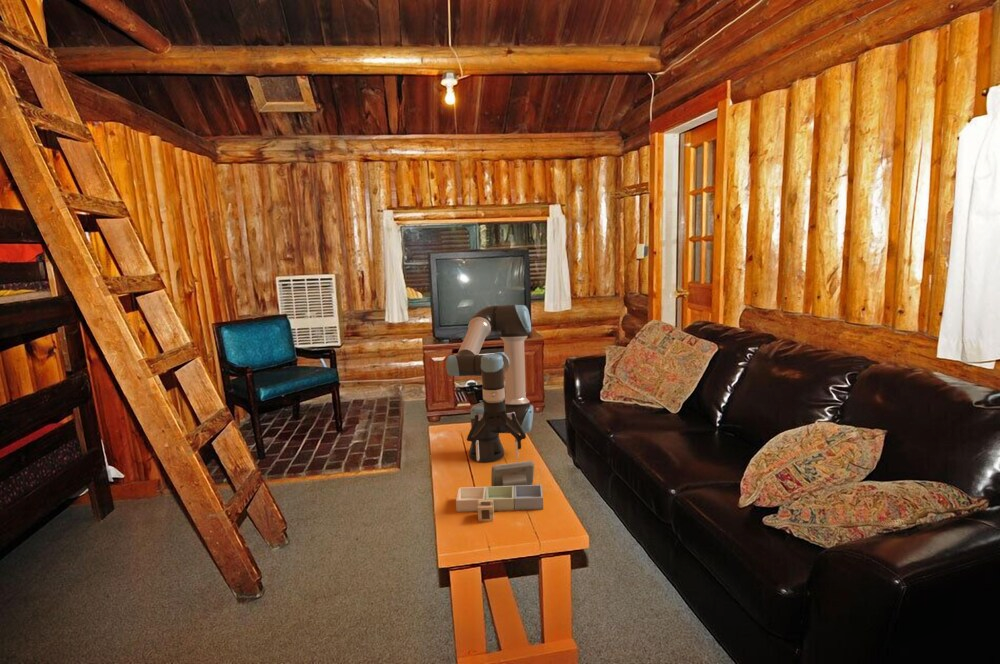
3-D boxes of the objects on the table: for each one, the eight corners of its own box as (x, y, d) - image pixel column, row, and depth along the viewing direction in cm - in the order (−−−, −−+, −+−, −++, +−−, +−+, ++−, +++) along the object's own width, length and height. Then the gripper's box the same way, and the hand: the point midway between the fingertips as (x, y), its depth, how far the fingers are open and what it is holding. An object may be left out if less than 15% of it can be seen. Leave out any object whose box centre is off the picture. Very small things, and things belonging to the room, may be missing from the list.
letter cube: (479, 514, 180) (478, 500, 179) (494, 513, 179) (493, 499, 179) (478, 521, 175) (477, 507, 174) (493, 521, 174) (492, 507, 174)
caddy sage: (487, 497, 191) (486, 486, 190) (514, 496, 190) (513, 485, 190) (485, 511, 181) (484, 499, 180) (514, 510, 181) (513, 498, 180)
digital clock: (534, 482, 200) (533, 456, 199) (535, 494, 191) (534, 466, 190) (492, 484, 201) (490, 458, 199) (491, 495, 192) (489, 468, 190)
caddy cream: (459, 498, 191) (459, 487, 190) (486, 497, 191) (486, 486, 190) (456, 512, 182) (455, 500, 181) (485, 511, 181) (484, 499, 180)
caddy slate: (515, 496, 190) (514, 485, 190) (542, 495, 190) (541, 484, 189) (514, 510, 181) (514, 498, 180) (543, 509, 180) (542, 497, 180)
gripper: (456, 404, 176) (460, 464, 180) (531, 401, 175) (534, 461, 179) (458, 398, 184) (463, 455, 187) (530, 394, 183) (533, 453, 186)
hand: (497, 458), depth 183 cm, fingers open, 13 cm apart
